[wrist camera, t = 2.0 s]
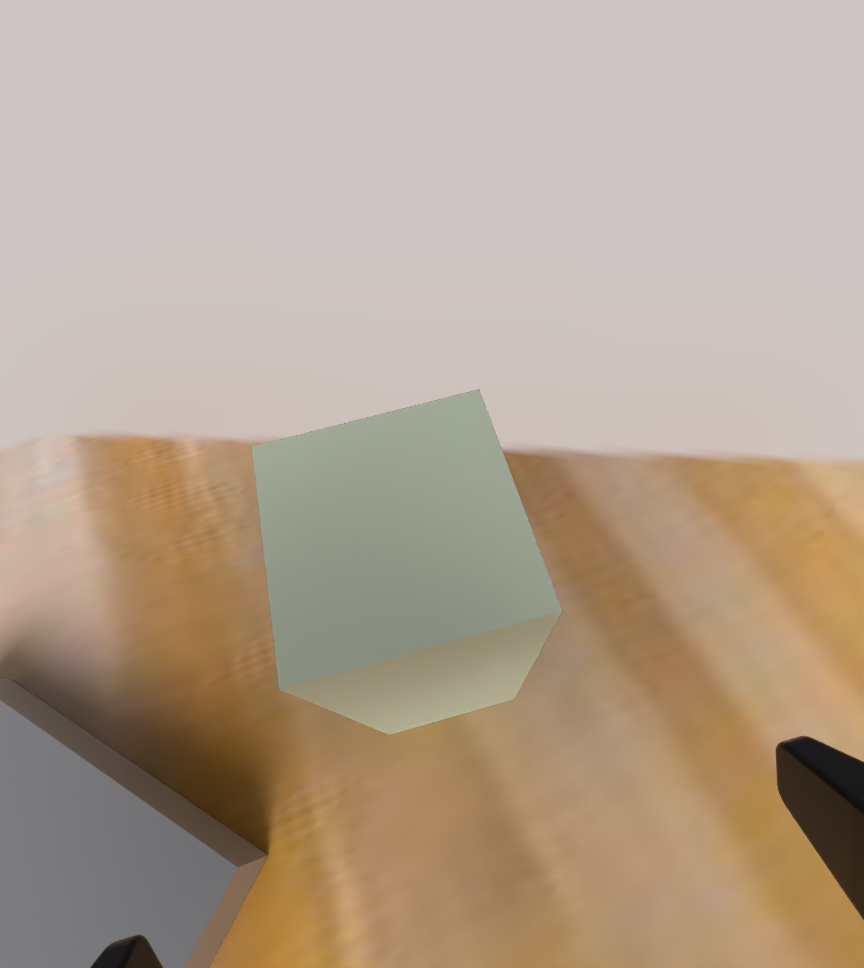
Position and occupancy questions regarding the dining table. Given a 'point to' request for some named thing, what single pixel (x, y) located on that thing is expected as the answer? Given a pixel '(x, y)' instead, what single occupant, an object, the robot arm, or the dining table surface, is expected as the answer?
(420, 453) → the sage block
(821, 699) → the dining table surface
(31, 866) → the slate slab
